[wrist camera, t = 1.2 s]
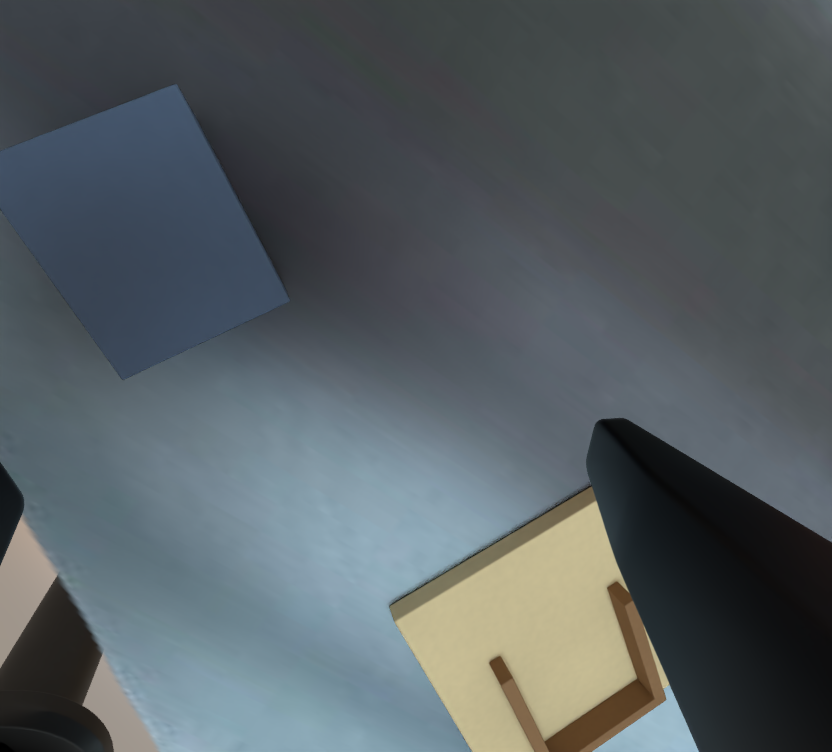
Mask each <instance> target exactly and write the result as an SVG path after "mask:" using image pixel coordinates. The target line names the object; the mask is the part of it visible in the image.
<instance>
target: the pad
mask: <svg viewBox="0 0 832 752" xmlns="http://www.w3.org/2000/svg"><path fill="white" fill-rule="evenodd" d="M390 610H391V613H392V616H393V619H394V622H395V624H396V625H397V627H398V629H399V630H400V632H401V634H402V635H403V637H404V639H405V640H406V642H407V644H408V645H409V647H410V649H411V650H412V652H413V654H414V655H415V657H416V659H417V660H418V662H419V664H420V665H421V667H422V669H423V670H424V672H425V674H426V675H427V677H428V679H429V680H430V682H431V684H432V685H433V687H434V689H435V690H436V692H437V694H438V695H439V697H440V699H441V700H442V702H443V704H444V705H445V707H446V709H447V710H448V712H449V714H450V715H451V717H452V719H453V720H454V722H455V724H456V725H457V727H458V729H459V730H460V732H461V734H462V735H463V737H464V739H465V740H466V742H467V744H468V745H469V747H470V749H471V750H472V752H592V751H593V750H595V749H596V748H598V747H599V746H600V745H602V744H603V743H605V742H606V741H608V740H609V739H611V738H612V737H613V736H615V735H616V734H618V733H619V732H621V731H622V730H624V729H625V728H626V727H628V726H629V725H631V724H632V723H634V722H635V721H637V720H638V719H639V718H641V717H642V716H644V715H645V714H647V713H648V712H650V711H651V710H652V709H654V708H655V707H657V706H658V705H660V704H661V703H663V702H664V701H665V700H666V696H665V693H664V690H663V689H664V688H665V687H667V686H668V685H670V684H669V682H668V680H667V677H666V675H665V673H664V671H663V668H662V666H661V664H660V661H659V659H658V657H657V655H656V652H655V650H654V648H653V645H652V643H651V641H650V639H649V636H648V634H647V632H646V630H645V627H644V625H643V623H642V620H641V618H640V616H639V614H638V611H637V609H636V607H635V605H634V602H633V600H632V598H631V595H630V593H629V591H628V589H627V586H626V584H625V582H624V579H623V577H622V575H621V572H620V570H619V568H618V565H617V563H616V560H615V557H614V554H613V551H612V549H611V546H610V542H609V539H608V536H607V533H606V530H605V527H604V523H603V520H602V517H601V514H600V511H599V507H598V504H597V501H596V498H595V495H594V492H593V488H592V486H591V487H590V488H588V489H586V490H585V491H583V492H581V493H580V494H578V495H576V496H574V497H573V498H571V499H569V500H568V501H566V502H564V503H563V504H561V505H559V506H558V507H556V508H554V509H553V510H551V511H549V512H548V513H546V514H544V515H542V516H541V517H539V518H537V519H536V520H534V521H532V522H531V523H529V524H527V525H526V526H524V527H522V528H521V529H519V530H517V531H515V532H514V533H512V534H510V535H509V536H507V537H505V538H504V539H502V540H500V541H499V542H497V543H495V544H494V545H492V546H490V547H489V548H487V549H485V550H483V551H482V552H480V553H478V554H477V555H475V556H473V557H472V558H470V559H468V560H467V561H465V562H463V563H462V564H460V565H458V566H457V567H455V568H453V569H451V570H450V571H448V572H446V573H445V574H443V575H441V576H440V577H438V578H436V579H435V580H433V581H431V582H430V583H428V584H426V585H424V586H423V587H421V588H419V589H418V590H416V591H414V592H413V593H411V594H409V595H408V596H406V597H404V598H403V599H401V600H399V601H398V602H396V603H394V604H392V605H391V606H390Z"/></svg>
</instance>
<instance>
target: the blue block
mask: <svg viewBox="0 0 832 752" xmlns="http://www.w3.org/2000/svg"><path fill="white" fill-rule="evenodd" d="M0 210H1V211H2V213H3V214H4V215H5V217H6V218H7V220H8V221H9V222H10V224H11V225H12V227H13V228H14V229H15V231H16V232H17V234H18V235H19V236H20V238H21V239H22V241H23V242H24V243H25V245H26V246H27V248H28V249H29V250H30V252H31V253H32V255H33V256H34V257H35V259H36V260H37V261H38V263H39V264H40V266H41V267H42V268H43V270H44V271H45V273H46V274H47V275H48V277H49V278H50V280H51V281H52V282H53V284H54V285H55V287H56V288H57V289H58V291H59V292H60V294H61V295H62V296H63V298H64V299H65V301H66V302H67V303H68V305H69V306H70V308H71V309H72V310H73V312H74V313H75V315H76V316H77V317H78V319H79V320H80V322H81V323H82V324H83V326H84V327H85V329H86V330H87V331H88V333H89V334H90V336H91V337H92V338H93V340H94V341H95V343H96V344H97V345H98V347H99V348H100V350H101V351H102V352H103V354H104V355H105V357H106V358H107V359H108V361H109V362H110V364H111V365H112V366H113V368H114V369H115V371H116V372H117V373H118V375H119V376H120V377H121V379H122V380H124V379H126V378H128V377H131V376H133V375H135V374H137V373H139V372H141V371H143V370H145V369H148V368H150V367H152V366H154V365H156V364H158V363H160V362H162V361H165V360H167V359H169V358H171V357H173V356H175V355H177V354H179V353H182V352H184V351H186V350H188V349H190V348H192V347H194V346H196V345H199V344H201V343H203V342H205V341H207V340H209V339H211V338H213V337H216V336H218V335H220V334H222V333H224V332H226V331H228V330H230V329H233V328H235V327H237V326H239V325H241V324H243V323H245V322H247V321H250V320H252V319H254V318H256V317H258V316H260V315H262V314H264V313H266V312H269V311H271V310H273V309H275V308H277V307H279V306H281V305H283V304H286V303H288V302H289V301H290V299H289V296H288V294H287V291H286V289H285V287H284V285H283V283H282V281H281V279H280V277H279V275H278V273H277V271H276V269H275V268H274V266H273V264H272V262H271V260H270V258H269V256H268V254H267V252H266V250H265V248H264V247H263V245H262V243H261V241H260V239H259V237H258V235H257V233H256V231H255V229H254V227H253V225H252V224H251V222H250V220H249V218H248V216H247V214H246V212H245V210H244V208H243V206H242V204H241V203H240V201H239V199H238V197H237V195H236V193H235V191H234V189H233V187H232V185H231V183H230V181H229V180H228V178H227V176H226V174H225V172H224V170H223V168H222V166H221V164H220V162H219V160H218V159H217V157H216V155H215V153H214V151H213V149H212V147H211V145H210V143H209V141H208V139H207V137H206V136H205V134H204V132H203V130H202V128H201V126H200V124H199V122H198V120H197V118H196V116H195V115H194V113H193V111H192V109H191V108H190V106H189V104H188V102H187V101H186V99H185V97H184V96H183V94H182V92H181V90H180V89H179V87H178V85H177V84H173V85H171V86H168V87H165V88H163V89H160V90H157V91H155V92H152V93H150V94H147V95H144V96H142V97H139V98H137V99H134V100H131V101H129V102H126V103H124V104H121V105H118V106H116V107H113V108H110V109H108V110H105V111H103V112H100V113H97V114H95V115H92V116H90V117H87V118H84V119H82V120H79V121H76V122H74V123H71V124H69V125H66V126H63V127H61V128H58V129H56V130H53V131H50V132H48V133H45V134H43V135H40V136H37V137H35V138H32V139H29V140H27V141H24V142H22V143H19V144H16V145H14V146H11V147H9V148H6V149H3V150H1V151H0Z"/></svg>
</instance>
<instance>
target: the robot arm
mask: <svg viewBox="0 0 832 752" xmlns="http://www.w3.org/2000/svg"><path fill="white" fill-rule="evenodd" d="M586 467H587V472H588V476H589V479H590V482H591V485H592V488H593V492H594V495H595V498H596V501H597V504H598V507H599V511H600V514H601V517H602V520H603V523H604V527H605V530H606V533H607V536H608V539H609V542H610V546H611V549H612V551H613V554H614V557H615V560H616V563H617V565H618V568H619V570H620V572H621V575H622V577H623V579H624V582H625V584H626V586H627V589H628V591H629V593H630V595H631V598H632V600H633V602H634V605H635V607H636V609H637V611H638V614H639V616H640V618H641V620H642V623H643V625H644V627H645V630H646V632H647V634H648V636H649V639H650V641H651V643H652V645H653V648H654V650H655V652H656V655H657V657H658V659H659V661H660V664H661V666H662V668H663V671H664V673H665V675H666V677H667V680H668V682H669V684H670V686H671V689H672V691H673V693H674V696H675V698H676V700H677V702H678V705H679V707H680V709H681V712H682V714H683V716H684V718H685V721H686V723H687V725H688V727H689V730H690V732H691V734H692V737H693V739H694V741H695V743H696V746H697V748H698V750H699V752H832V542H830V541H828V540H827V539H825V538H823V537H822V536H820V535H818V534H817V533H815V532H813V531H812V530H810V529H808V528H807V527H805V526H803V525H802V524H800V523H798V522H797V521H795V520H793V519H792V518H790V517H788V516H787V515H785V514H783V513H782V512H780V511H778V510H777V509H775V508H773V507H772V506H770V505H768V504H767V503H765V502H763V501H762V500H760V499H758V498H757V497H755V496H754V495H752V494H750V493H749V492H747V491H745V490H744V489H742V488H740V487H739V486H737V485H735V484H734V483H732V482H730V481H729V480H727V479H725V478H724V477H722V476H720V475H719V474H717V473H715V472H714V471H712V470H710V469H709V468H707V467H705V466H704V465H702V464H700V463H699V462H697V461H695V460H694V459H692V458H690V457H689V456H687V455H685V454H684V453H682V452H680V451H679V450H677V449H675V448H674V447H672V446H670V445H669V444H667V443H666V442H664V441H662V440H661V439H659V438H657V437H656V436H654V435H652V434H651V433H649V432H647V431H646V430H644V429H642V428H641V427H639V426H637V425H636V424H634V423H632V422H631V421H629V420H627V419H624V418H612V419H601V420H599V421H598V422H597V423H596V424H595V427H594V430H593V434H592V438H591V442H590V446H589V450H588V454H587V459H586ZM23 510H24V497H23V494H22V493H21V491H20V490H19V488H18V487H17V485H16V484H15V482H14V481H13V479H12V478H11V477H10V475H9V474H8V472H7V471H6V469H5V468H4V466H3V465H2V464H1V463H0V565H1V563H2V560H3V558H4V556H5V553H6V551H7V548H8V546H9V544H10V541H11V539H12V537H13V534H14V532H15V530H16V527H17V524H18V522H19V520H20V518H21V515H22V513H23ZM0 752H15V751H14V750H12V749H11V748H10V747H9V746H7V745H6V744H4V743H1V742H0Z"/></svg>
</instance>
